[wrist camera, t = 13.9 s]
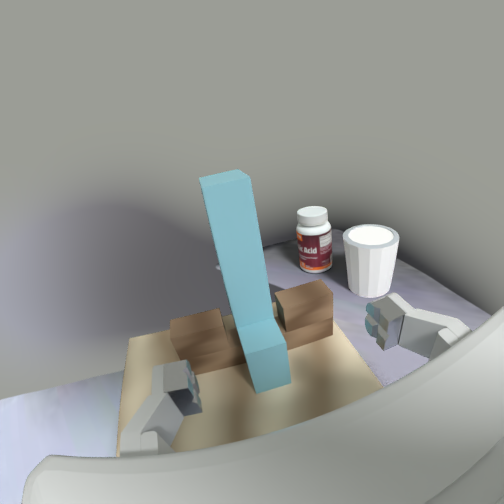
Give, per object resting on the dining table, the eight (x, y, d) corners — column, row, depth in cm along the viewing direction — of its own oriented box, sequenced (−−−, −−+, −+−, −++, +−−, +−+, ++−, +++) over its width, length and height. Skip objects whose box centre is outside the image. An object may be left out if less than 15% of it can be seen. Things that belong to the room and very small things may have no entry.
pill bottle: (293, 268, 41) (286, 213, 37) (314, 254, 43) (309, 203, 39) (318, 278, 37) (314, 219, 34) (339, 263, 40) (336, 208, 36)
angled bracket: (256, 393, 21) (205, 198, 14) (234, 322, 30) (197, 172, 23) (291, 383, 21) (262, 185, 14) (260, 314, 30) (231, 164, 23)
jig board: (125, 477, 15) (78, 443, 12) (134, 347, 30) (111, 304, 27) (389, 409, 18) (406, 359, 15) (311, 301, 33) (308, 253, 30)
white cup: (405, 286, 31) (410, 235, 28) (366, 308, 30) (369, 254, 27) (371, 265, 37) (372, 219, 34) (333, 282, 36) (331, 233, 33)
